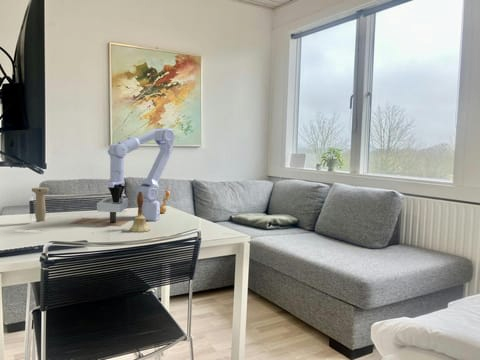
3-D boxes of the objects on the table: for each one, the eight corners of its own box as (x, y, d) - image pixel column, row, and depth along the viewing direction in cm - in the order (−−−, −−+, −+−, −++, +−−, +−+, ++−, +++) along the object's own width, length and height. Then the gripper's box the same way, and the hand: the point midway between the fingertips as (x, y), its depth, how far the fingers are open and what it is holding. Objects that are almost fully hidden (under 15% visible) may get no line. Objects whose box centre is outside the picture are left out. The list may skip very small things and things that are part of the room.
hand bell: (127, 228, 167) (128, 190, 166) (147, 227, 171) (148, 190, 169) (131, 232, 160) (131, 193, 158) (151, 231, 163) (152, 192, 162)
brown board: (130, 222, 179) (130, 209, 179) (120, 228, 166) (120, 214, 166) (82, 219, 180) (82, 206, 180) (68, 225, 167) (68, 211, 167)
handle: (48, 223, 170) (48, 188, 168) (31, 224, 167) (31, 188, 166) (49, 221, 174) (49, 187, 173) (32, 222, 172) (32, 187, 170)
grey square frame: (128, 205, 177) (128, 198, 176) (120, 212, 167) (120, 204, 167) (106, 204, 178) (106, 197, 177) (97, 211, 168) (96, 203, 167)
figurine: (156, 211, 208) (157, 188, 207) (167, 211, 211) (168, 188, 210) (160, 214, 201) (161, 190, 200) (172, 214, 204) (172, 190, 202)
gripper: (114, 169, 182) (113, 199, 184) (101, 172, 168) (101, 204, 169) (129, 170, 182) (129, 200, 183) (117, 172, 168) (117, 204, 169)
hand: (116, 202), depth 176 cm, fingers closed on grey square frame, 2 cm apart
